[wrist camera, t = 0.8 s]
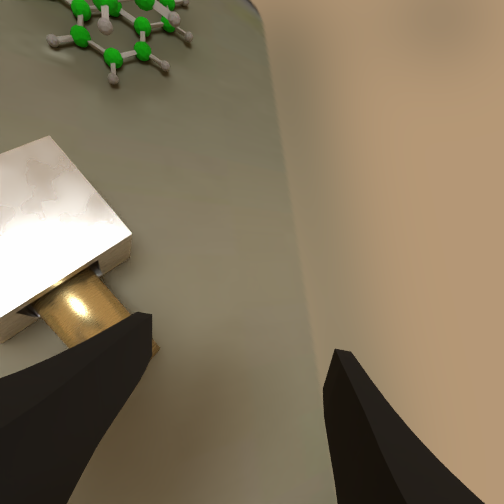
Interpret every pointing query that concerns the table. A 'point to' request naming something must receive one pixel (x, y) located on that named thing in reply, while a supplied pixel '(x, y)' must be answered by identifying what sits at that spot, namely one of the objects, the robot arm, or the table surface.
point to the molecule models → (110, 5)
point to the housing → (49, 229)
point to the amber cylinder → (81, 309)
